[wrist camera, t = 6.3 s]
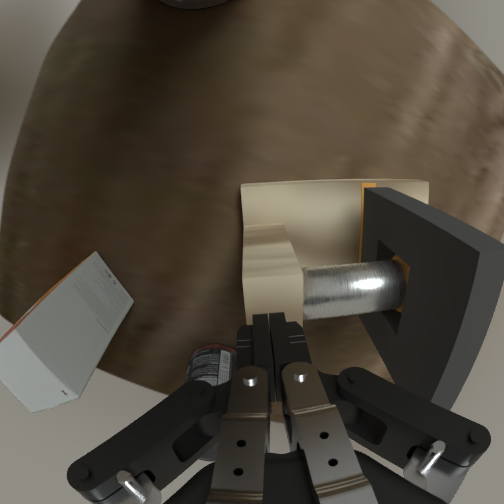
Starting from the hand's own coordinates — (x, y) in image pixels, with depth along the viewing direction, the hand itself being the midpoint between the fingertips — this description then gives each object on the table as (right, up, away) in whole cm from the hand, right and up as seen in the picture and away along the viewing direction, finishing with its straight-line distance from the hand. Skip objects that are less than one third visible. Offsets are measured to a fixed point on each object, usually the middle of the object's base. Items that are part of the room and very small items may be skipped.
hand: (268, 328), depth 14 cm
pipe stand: (+7, +5, +11) cm, 14 cm away
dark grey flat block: (+8, +3, +7) cm, 12 cm away
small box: (-17, 0, +13) cm, 21 cm away
